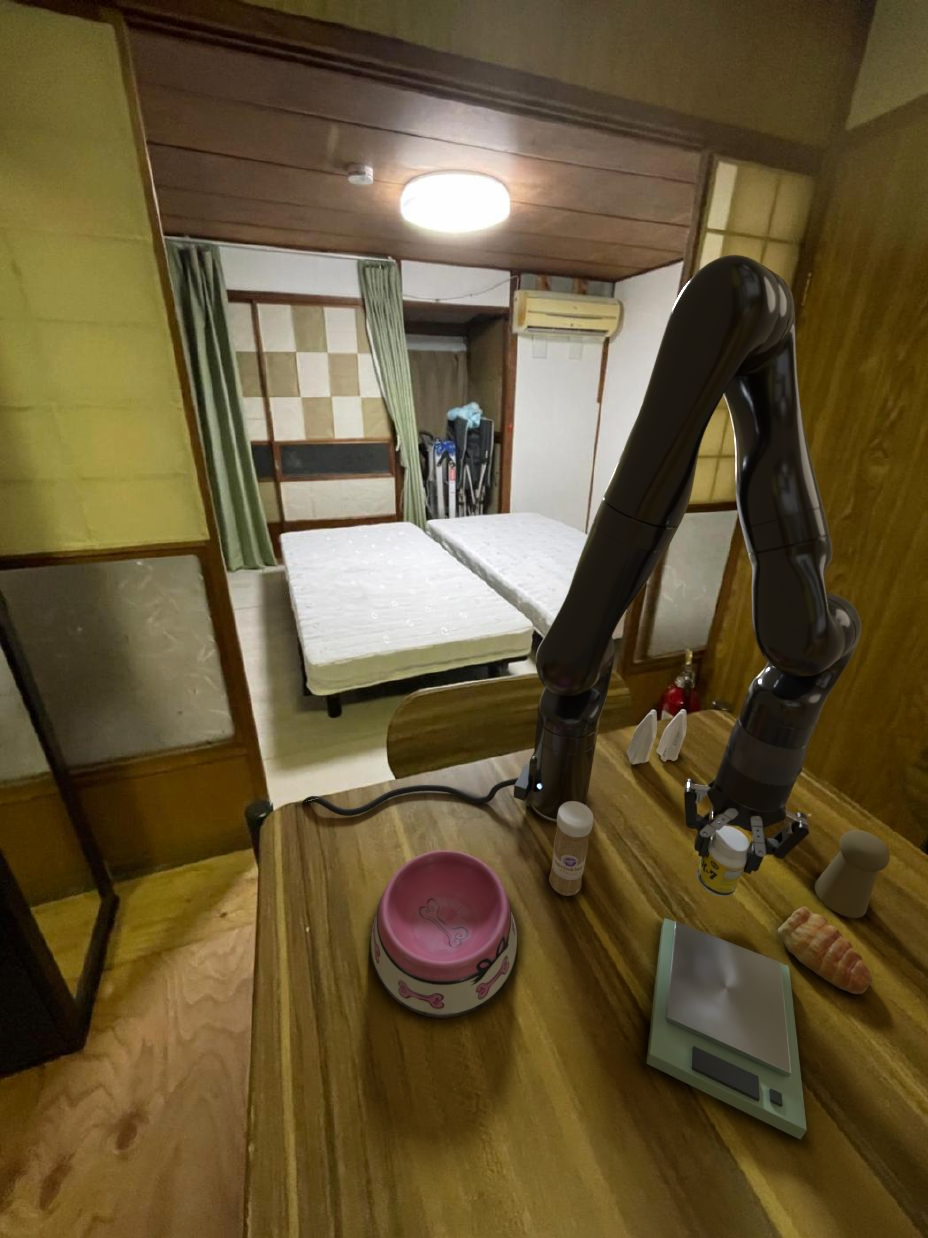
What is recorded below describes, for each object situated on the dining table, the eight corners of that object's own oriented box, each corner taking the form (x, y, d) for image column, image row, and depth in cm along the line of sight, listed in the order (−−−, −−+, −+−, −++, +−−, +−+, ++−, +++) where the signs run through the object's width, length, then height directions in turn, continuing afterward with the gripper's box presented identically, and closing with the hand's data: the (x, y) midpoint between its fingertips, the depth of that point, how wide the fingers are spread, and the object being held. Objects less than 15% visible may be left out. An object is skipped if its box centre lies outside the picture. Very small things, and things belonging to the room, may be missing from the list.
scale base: (646, 1064, 53) (650, 1051, 52) (661, 927, 66) (665, 915, 65) (800, 1140, 48) (808, 1128, 47) (784, 976, 61) (790, 963, 60)
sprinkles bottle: (552, 898, 70) (562, 827, 64) (546, 868, 74) (554, 799, 68) (585, 897, 70) (598, 826, 64) (577, 867, 74) (588, 799, 68)
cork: (875, 922, 67) (908, 865, 63) (825, 913, 68) (853, 856, 64) (853, 882, 73) (883, 826, 68) (807, 874, 74) (832, 818, 69)
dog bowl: (448, 849, 77) (448, 816, 74) (547, 938, 65) (552, 903, 62) (341, 934, 65) (336, 898, 62) (439, 1061, 53) (439, 1025, 50)
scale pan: (665, 1021, 55) (667, 1016, 55) (674, 925, 64) (675, 921, 64) (788, 1077, 51) (791, 1073, 50) (778, 966, 60) (780, 962, 60)
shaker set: (630, 772, 92) (640, 722, 87) (617, 757, 95) (626, 708, 91) (686, 759, 95) (699, 711, 90) (671, 745, 99) (683, 697, 94)
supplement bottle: (689, 866, 70) (704, 823, 67) (722, 865, 71) (739, 821, 67) (707, 899, 66) (724, 855, 62) (742, 897, 66) (760, 853, 63)
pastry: (877, 977, 61) (889, 958, 60) (849, 1010, 58) (861, 991, 56) (798, 913, 68) (807, 894, 67) (769, 939, 65) (777, 920, 64)
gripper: (829, 758, 59) (783, 858, 67) (696, 722, 64) (668, 819, 72) (840, 803, 53) (788, 908, 61) (692, 759, 58) (662, 861, 66)
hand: (723, 859), depth 66 cm, fingers closed on supplement bottle, 4 cm apart
